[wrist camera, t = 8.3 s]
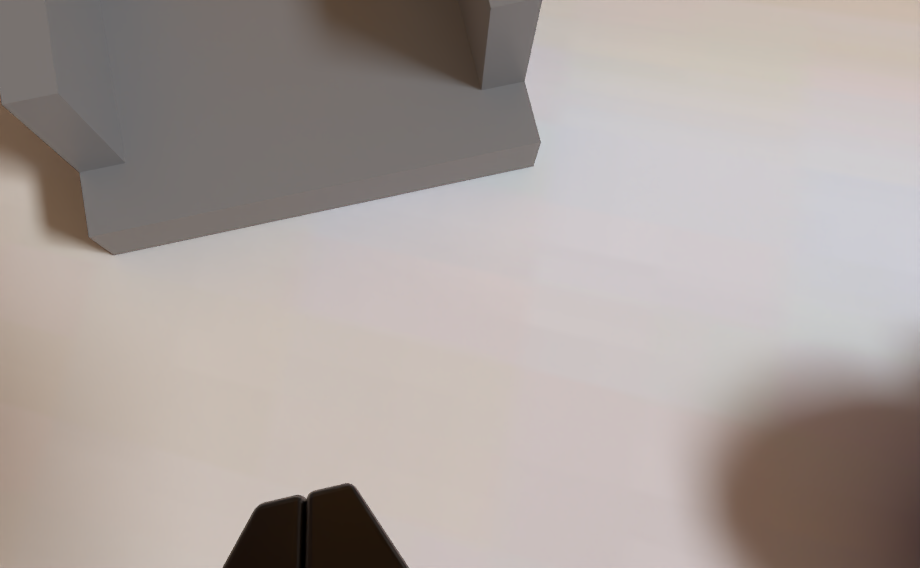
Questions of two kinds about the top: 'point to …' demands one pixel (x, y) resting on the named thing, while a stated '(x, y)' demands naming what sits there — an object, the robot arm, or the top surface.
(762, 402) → the top surface
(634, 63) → the top surface
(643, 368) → the top surface
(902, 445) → the top surface
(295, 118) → the base
